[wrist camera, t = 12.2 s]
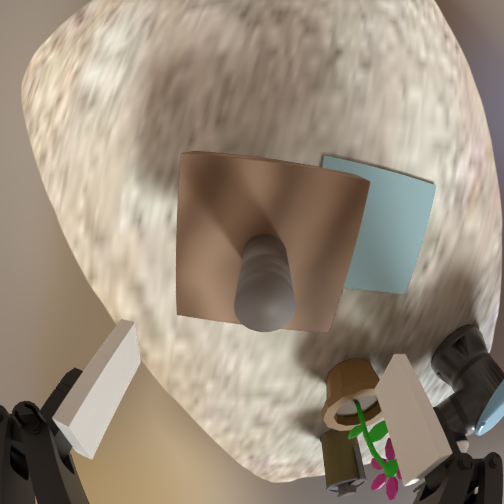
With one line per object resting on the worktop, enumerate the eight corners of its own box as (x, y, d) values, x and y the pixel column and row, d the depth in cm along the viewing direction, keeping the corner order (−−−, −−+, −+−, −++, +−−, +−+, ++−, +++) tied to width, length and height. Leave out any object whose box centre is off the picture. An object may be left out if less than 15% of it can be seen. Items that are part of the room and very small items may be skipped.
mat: (434, 184, 37) (436, 185, 36) (403, 293, 44) (404, 294, 44) (323, 155, 37) (324, 155, 36) (299, 280, 44) (299, 282, 44)
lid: (354, 174, 26) (418, 204, 14) (321, 308, 33) (343, 391, 21) (194, 150, 26) (139, 163, 14) (186, 292, 33) (152, 371, 21)
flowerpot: (358, 398, 55) (385, 507, 27) (305, 391, 54) (317, 516, 26) (392, 356, 50) (442, 473, 22) (337, 345, 49) (373, 488, 21)
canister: (339, 445, 64) (347, 500, 45) (312, 441, 62) (318, 500, 44) (364, 428, 60) (378, 486, 41) (338, 423, 59) (349, 486, 40)
